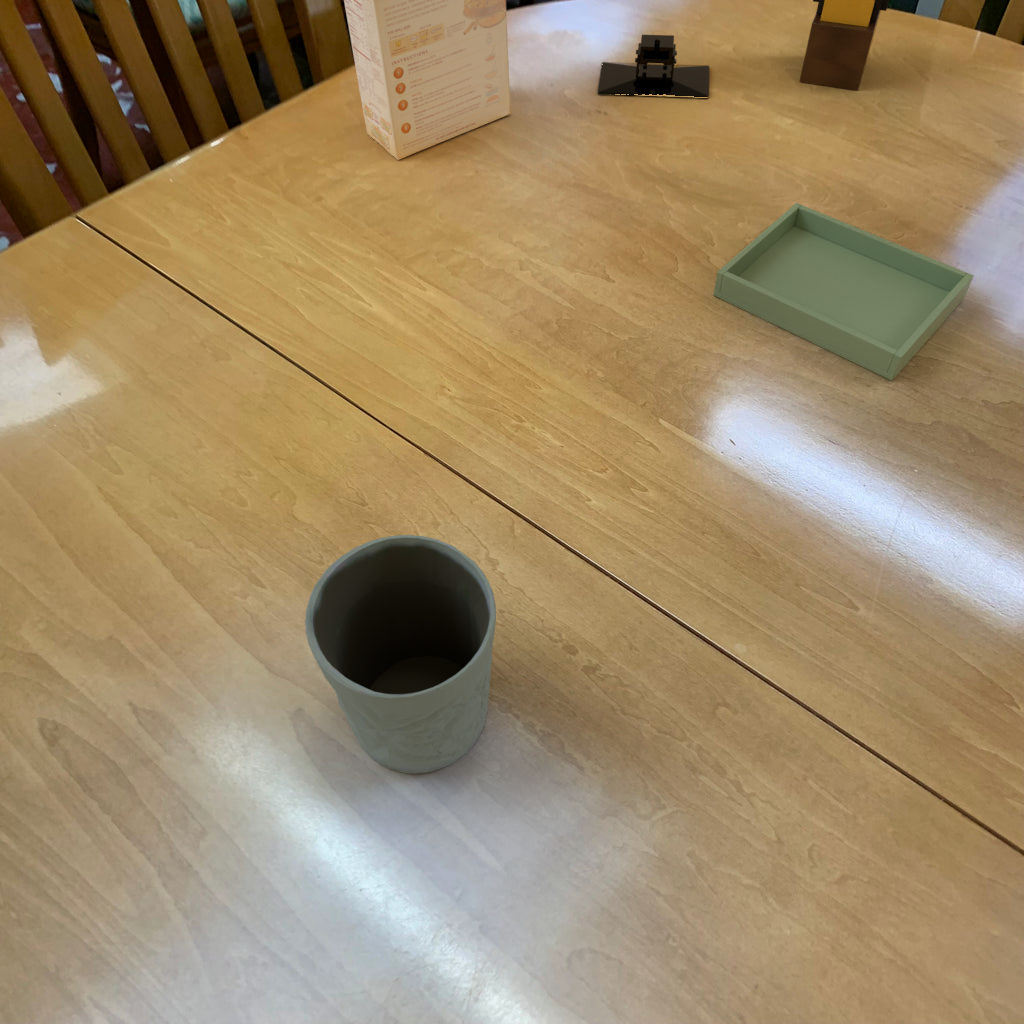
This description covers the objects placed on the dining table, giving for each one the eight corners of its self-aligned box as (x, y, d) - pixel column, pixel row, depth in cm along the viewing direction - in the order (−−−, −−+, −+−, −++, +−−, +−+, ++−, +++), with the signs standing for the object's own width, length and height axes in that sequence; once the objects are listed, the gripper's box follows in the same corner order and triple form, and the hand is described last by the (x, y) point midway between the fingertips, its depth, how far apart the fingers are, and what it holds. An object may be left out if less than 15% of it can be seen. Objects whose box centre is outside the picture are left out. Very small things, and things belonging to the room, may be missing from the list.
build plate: (597, 96, 104) (598, 54, 101) (602, 64, 109) (603, 23, 105) (708, 99, 103) (714, 57, 99) (709, 67, 107) (714, 25, 104)
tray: (963, 299, 81) (974, 275, 79) (891, 381, 75) (901, 357, 73) (790, 226, 88) (796, 202, 86) (712, 295, 82) (717, 271, 80)
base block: (866, 63, 107) (882, 4, 102) (857, 91, 103) (874, 31, 98) (809, 55, 108) (822, -3, 103) (799, 82, 105) (811, 23, 100)
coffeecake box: (477, 90, 106) (464, -104, 91) (513, 115, 102) (506, -83, 87) (363, 134, 101) (330, -64, 85) (397, 162, 97) (368, -39, 82)
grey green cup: (347, 646, 61) (310, 539, 52) (499, 634, 62) (490, 526, 52) (340, 795, 55) (297, 704, 46) (509, 781, 55) (501, 688, 46)
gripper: (996, -196, 86) (933, 8, 100) (812, -210, 90) (776, -12, 105) (991, -170, 82) (925, 39, 96) (797, -186, 86) (762, 17, 100)
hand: (848, 10), depth 100 cm, fingers closed on top block, 5 cm apart
